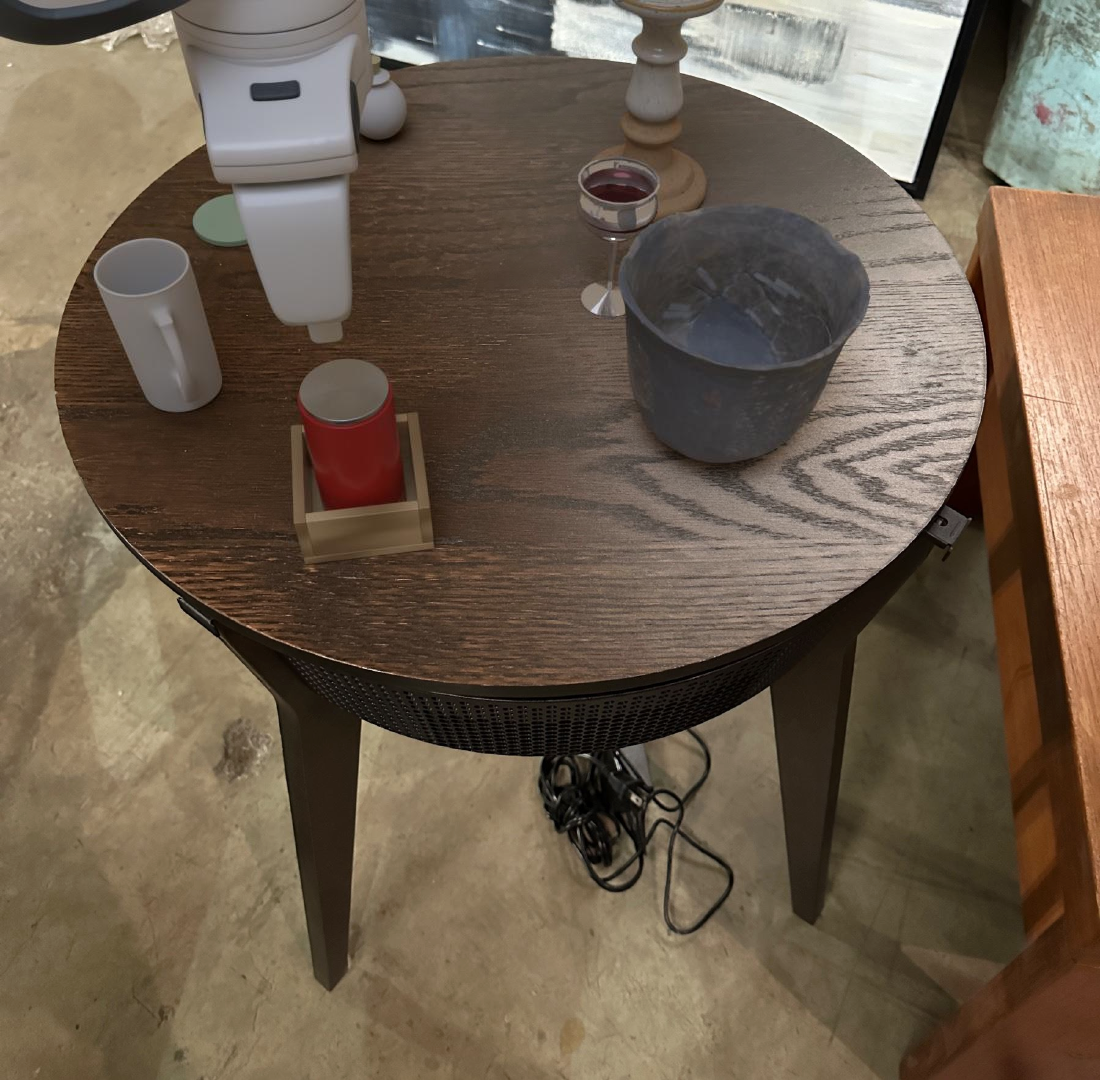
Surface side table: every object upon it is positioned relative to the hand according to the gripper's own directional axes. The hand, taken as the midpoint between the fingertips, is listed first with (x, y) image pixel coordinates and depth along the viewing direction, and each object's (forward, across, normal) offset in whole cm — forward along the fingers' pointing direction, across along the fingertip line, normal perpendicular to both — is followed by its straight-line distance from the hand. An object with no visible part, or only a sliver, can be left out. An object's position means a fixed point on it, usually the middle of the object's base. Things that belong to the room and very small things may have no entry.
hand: (323, 280), depth 61 cm
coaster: (+21, -37, -10) cm, 43 cm away
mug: (+21, -13, -14) cm, 28 cm away
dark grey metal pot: (+21, -4, +28) cm, 35 cm away
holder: (+21, 0, 0) cm, 21 cm away
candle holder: (+21, -37, +30) cm, 52 cm away
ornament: (+21, -50, +4) cm, 54 cm away
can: (+20, 0, 0) cm, 20 cm away
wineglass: (+21, -21, +23) cm, 37 cm away
